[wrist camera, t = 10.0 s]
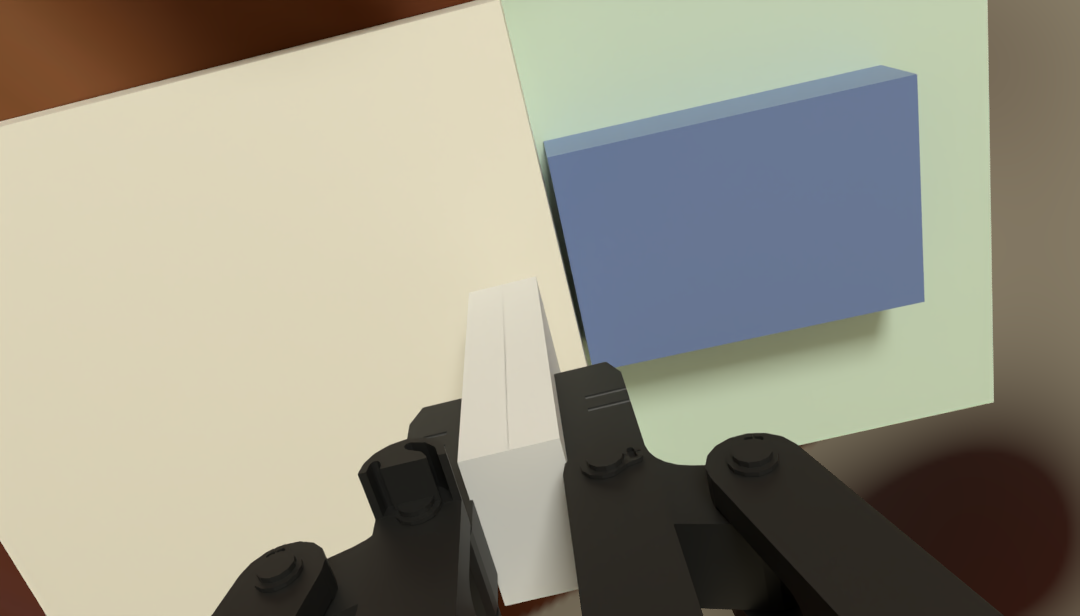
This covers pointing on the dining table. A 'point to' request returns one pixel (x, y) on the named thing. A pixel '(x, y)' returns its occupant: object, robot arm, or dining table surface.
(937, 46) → the mat
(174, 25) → the dining table surface
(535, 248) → the cream flat block
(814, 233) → the blue rectangular block
